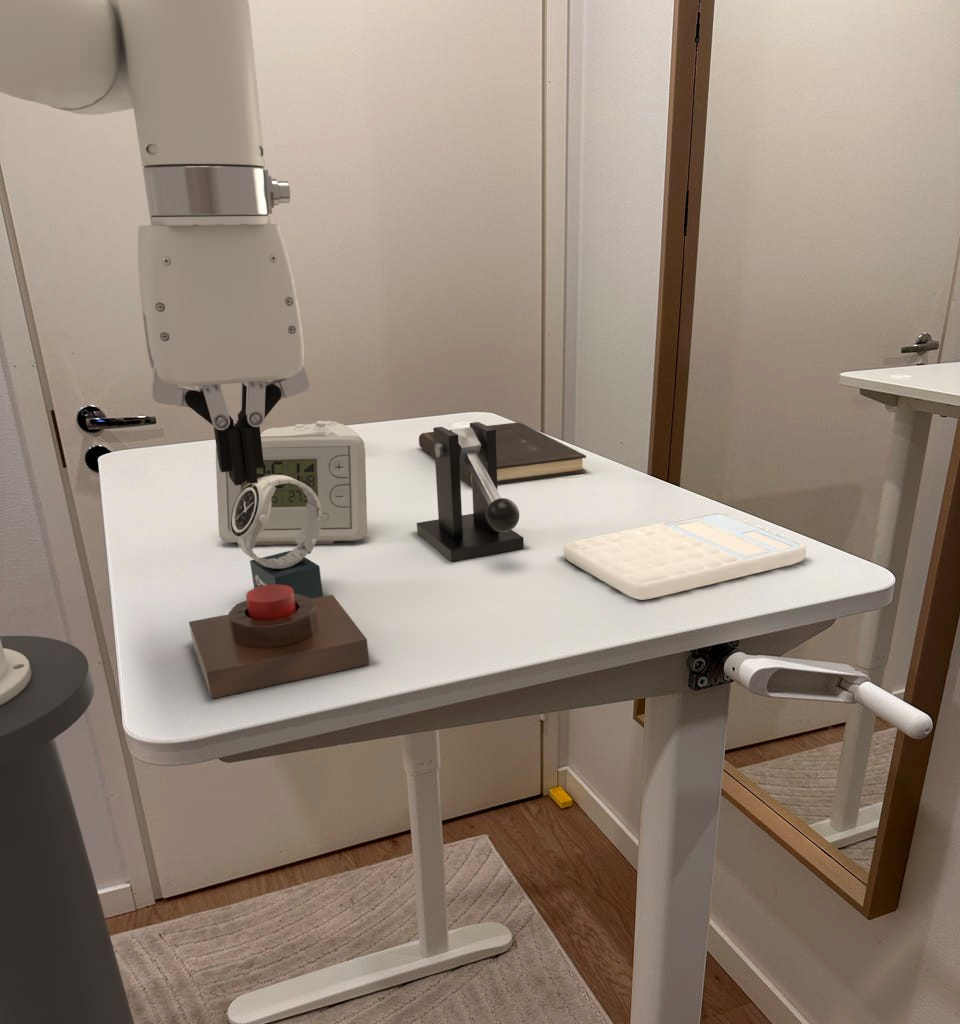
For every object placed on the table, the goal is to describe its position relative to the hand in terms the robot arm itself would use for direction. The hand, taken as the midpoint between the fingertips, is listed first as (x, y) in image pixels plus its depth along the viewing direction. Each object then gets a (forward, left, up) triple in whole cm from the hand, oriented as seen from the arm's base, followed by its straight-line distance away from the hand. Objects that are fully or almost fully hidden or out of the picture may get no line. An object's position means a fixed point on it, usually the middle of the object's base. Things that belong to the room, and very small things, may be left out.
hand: (243, 479), depth 66 cm
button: (+1, 0, -11) cm, 11 cm away
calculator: (+41, +2, -15) cm, 43 cm away
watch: (+4, +12, -15) cm, 19 cm away
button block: (+1, 0, -14) cm, 14 cm away
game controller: (+19, +64, -15) cm, 68 cm away
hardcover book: (+41, +47, -15) cm, 64 cm away
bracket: (+25, +18, -14) cm, 34 cm away
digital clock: (+9, +28, -15) cm, 32 cm away
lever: (+25, +14, -8) cm, 29 cm away
